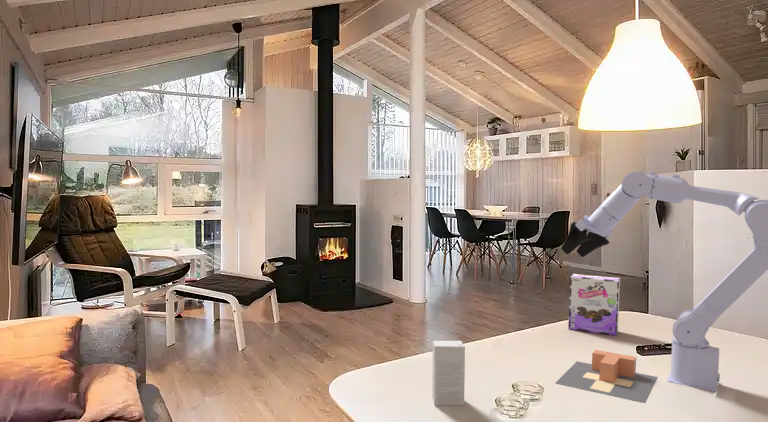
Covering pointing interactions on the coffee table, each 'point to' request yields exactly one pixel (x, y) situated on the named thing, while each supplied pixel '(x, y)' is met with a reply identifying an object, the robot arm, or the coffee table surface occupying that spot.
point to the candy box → (594, 304)
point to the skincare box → (448, 373)
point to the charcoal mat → (608, 383)
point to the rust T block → (613, 365)
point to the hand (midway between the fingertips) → (572, 252)
